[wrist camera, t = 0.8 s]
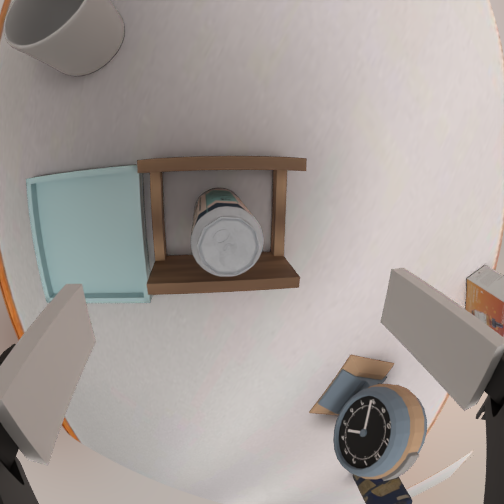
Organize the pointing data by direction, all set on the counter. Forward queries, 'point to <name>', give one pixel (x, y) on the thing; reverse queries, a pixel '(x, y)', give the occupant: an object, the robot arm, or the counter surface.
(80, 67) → the mug
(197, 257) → the beer can
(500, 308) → the small box
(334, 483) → the counter surface
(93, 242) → the tray
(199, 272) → the cradle
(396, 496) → the canister
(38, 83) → the counter surface
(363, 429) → the alarm clock
